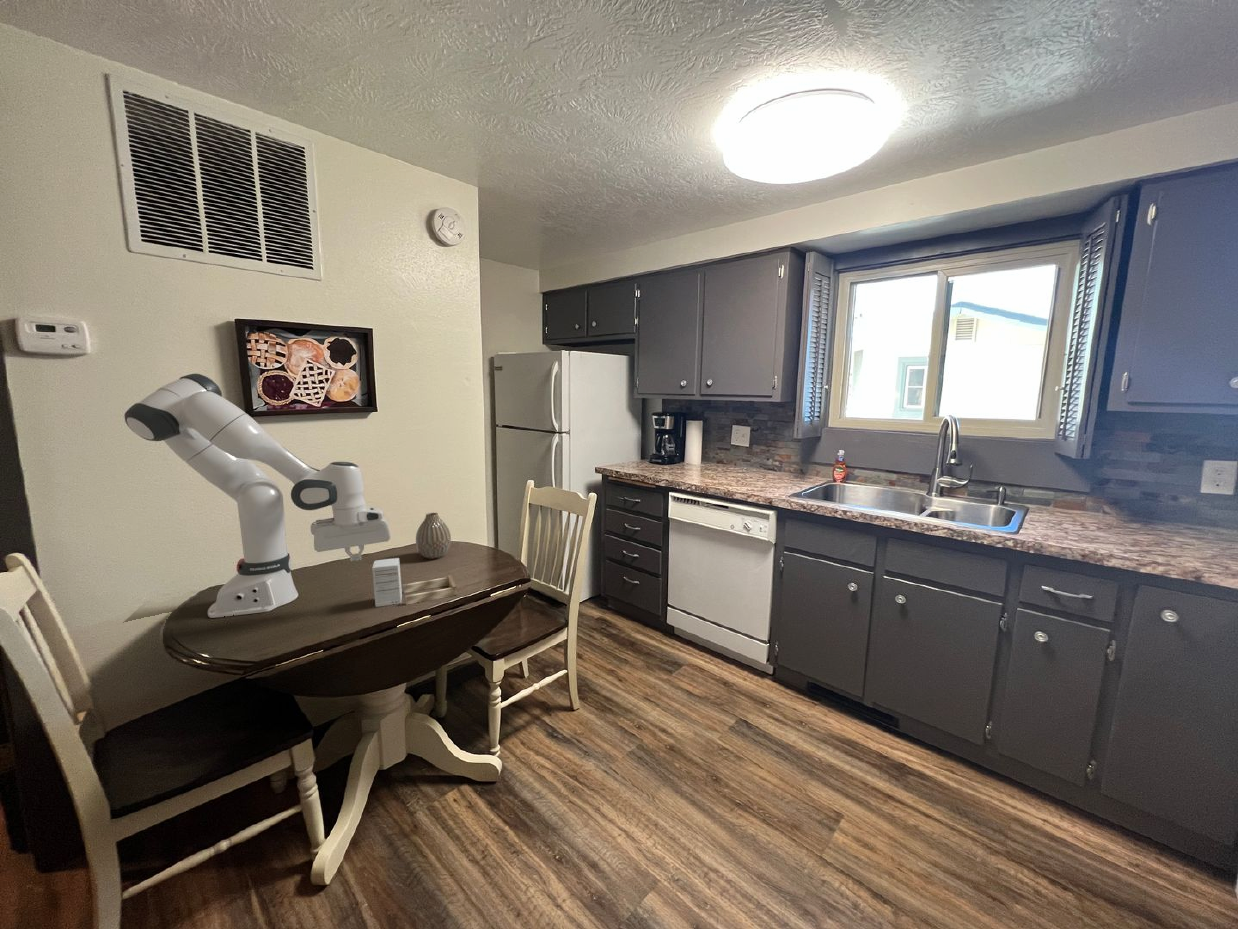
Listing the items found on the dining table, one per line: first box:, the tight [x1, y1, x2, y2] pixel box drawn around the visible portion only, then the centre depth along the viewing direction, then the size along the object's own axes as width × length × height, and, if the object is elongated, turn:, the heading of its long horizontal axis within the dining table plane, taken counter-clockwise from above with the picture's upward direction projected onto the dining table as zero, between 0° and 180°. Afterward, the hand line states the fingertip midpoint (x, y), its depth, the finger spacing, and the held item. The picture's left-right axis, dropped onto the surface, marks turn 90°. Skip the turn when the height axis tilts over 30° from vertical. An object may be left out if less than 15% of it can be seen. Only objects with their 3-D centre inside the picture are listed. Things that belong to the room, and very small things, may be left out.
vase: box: [415, 512, 452, 560], centre depth 194 cm, size 13×13×18 cm
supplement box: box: [371, 557, 403, 608], centre depth 152 cm, size 7×7×13 cm
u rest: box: [402, 574, 458, 606], centre depth 158 cm, size 15×11×3 cm
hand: (356, 560), depth 147 cm, fingers closed
